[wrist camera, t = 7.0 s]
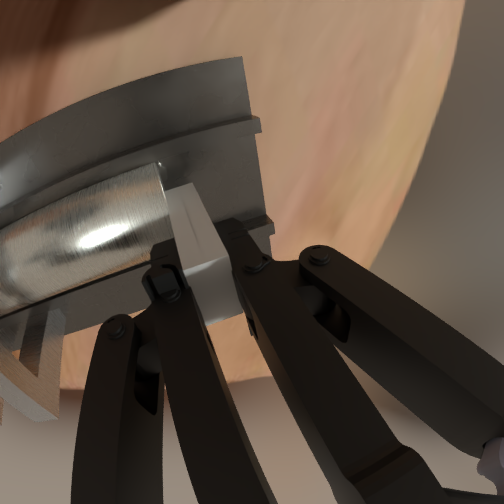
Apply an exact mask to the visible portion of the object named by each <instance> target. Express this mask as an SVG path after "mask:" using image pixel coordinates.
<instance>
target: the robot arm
mask: <svg viewBox="0 0 504 504" xmlns="http://www.w3.org/2000/svg"><path fill="white" fill-rule="evenodd" d="M164 193H165V197H166V201H167V206H168V210H169V214H170V215H169V216H170V220H171V225H172V229H173V233H174V238H171V239H168V240H165V241H162V242H160V243H157V244H154V245H153V247H152V249H151V251H150V260H151V268H149V269H148V270H147V271H146V272H145V274H144V275H143V277H142V281H141V283H142V285H143V287H144V289H145V291H146V292H147V294H148V296H149V298H150V300H151V304H150V306H149V307H148V308H147V309H146V310H144V311H143V312H142V313H140V314H139V315H137V316H136V317H134V318H131V317H130V316H128V315H127V314H117V315H114V316H112V317H110V318H109V319H107V320H106V321H105V322H104V323H103V324H102V325H101V327H100V329H99V331H98V335H97V339H96V342H95V346H94V350H93V354H92V358H91V362H90V367H89V371H88V375H87V380H86V385H85V390H84V395H83V400H82V405H81V411H80V417H79V423H78V429H77V436H76V444H75V452H74V461H73V472H72V486H71V504H163V476H162V474H163V472H162V471H163V470H162V448H163V447H162V446H163V445H162V444H163V443H162V442H163V408H164V388H165V386H166V390H167V395H168V398H169V399H168V400H169V403H170V408H171V412H172V416H173V421H174V424H175V428H176V432H177V436H178V439H179V443H180V447H181V450H182V454H183V457H184V461H185V464H186V467H187V471H188V473H189V477H190V480H191V483H192V486H193V489H194V492H195V495H196V498H197V501H198V503H199V504H278V503H277V501H276V499H275V496H274V494H273V493H272V490H271V488H270V486H269V484H268V482H267V479H266V477H265V475H264V473H263V471H262V468H261V466H260V464H259V462H258V459H257V457H256V455H255V452H254V450H253V448H252V445H251V443H250V441H249V438H248V436H247V433H246V431H245V429H244V426H243V424H242V421H241V419H240V416H239V414H238V411H237V409H236V406H235V404H234V401H233V398H232V396H231V393H230V391H229V388H228V385H227V383H226V380H225V377H224V374H223V372H222V369H221V366H220V363H219V361H218V358H217V355H216V352H215V349H214V346H213V344H212V341H211V338H210V335H209V333H208V331H207V328H206V326H208V325H210V324H213V323H216V322H219V321H222V320H225V319H227V318H230V317H233V316H236V315H238V314H241V313H243V310H244V312H245V315H246V319H247V323H248V327H249V330H250V334H251V336H252V335H253V336H254V338H255V340H256V342H257V344H258V346H259V348H260V350H261V352H262V354H263V357H264V359H265V361H266V363H267V365H268V367H269V369H270V371H271V373H272V375H273V377H274V379H275V381H276V383H277V385H278V387H279V389H280V391H281V393H282V395H283V397H284V399H285V401H286V403H287V405H288V407H289V409H290V411H291V412H292V414H293V417H294V419H295V420H296V422H297V424H298V426H299V428H300V430H301V432H302V434H303V436H304V438H305V439H306V441H307V443H308V445H309V447H310V449H311V451H312V453H313V454H314V456H315V459H316V460H317V462H318V464H319V466H320V468H321V469H322V471H323V473H324V475H325V477H326V479H327V481H328V482H329V484H330V486H331V489H332V491H333V495H334V497H335V499H336V501H337V503H338V504H504V365H502V364H501V363H500V362H498V361H497V360H496V359H495V358H493V357H492V356H491V355H489V354H488V353H487V352H485V351H484V350H483V349H481V348H480V347H479V346H477V345H476V344H474V343H473V342H472V341H471V340H469V339H468V338H466V337H465V336H464V335H462V334H461V333H459V332H458V331H457V330H455V329H454V328H452V327H451V326H450V325H448V324H447V323H445V322H444V321H442V320H441V319H440V318H438V317H437V316H435V315H434V314H433V313H431V312H430V311H428V310H427V309H425V308H424V307H422V306H421V305H420V304H418V303H417V302H415V301H414V300H412V299H410V298H409V297H408V296H406V295H405V294H403V293H402V292H400V291H399V290H397V289H396V288H394V287H393V286H391V285H390V284H388V283H387V282H385V281H384V280H382V279H380V278H379V277H377V276H376V275H374V274H373V273H371V272H370V271H368V270H367V269H365V268H364V267H362V266H360V265H359V264H357V263H356V262H354V261H353V260H351V259H349V258H348V257H346V256H345V255H343V254H341V253H340V252H338V251H337V250H335V249H333V248H331V247H329V246H325V245H314V246H310V247H307V248H305V249H304V250H303V251H302V252H301V253H300V255H299V260H292V261H275V260H274V259H273V258H272V257H270V256H269V255H267V254H264V253H262V252H261V250H260V249H259V247H258V246H257V244H256V243H255V241H254V240H253V238H252V237H251V235H249V233H248V231H247V230H246V229H245V227H244V225H243V224H242V222H241V221H239V220H237V219H235V218H233V217H232V218H229V219H226V220H223V221H220V222H216V223H212V221H211V219H210V217H209V215H208V213H207V211H206V209H205V207H204V205H203V203H202V201H201V199H200V197H199V195H198V193H197V191H196V189H195V187H194V185H193V183H189V184H186V185H182V186H179V187H176V188H173V189H170V190H167V191H164ZM242 308H243V310H242ZM334 345H335V346H336V347H337V348H338V349H339V350H340V351H341V352H343V353H344V354H345V355H346V356H347V357H348V358H350V359H351V360H352V361H353V362H354V363H355V364H357V365H358V366H359V367H360V368H361V369H362V370H363V371H365V372H366V373H367V374H368V375H369V376H371V377H372V378H373V379H374V380H375V381H376V382H377V383H379V384H380V385H381V386H382V387H383V388H384V389H386V390H387V391H388V392H389V393H390V394H392V395H393V396H394V397H395V398H396V399H397V400H399V401H400V402H401V403H402V404H404V405H405V406H406V407H407V408H408V409H409V410H410V411H412V412H413V413H414V414H415V415H416V416H417V417H419V418H420V419H421V420H422V421H424V422H425V423H426V424H427V425H428V426H429V427H431V428H432V429H433V430H434V431H436V432H437V433H438V434H439V435H440V436H441V437H443V438H444V439H445V440H446V441H448V442H449V443H450V444H452V445H453V446H454V447H456V448H457V449H459V450H460V451H462V452H464V453H467V454H468V455H470V456H473V457H476V458H479V459H480V461H479V462H478V464H477V472H478V473H479V474H480V475H484V476H485V477H486V478H487V479H489V480H491V481H492V482H493V483H494V484H495V486H496V489H497V495H490V494H480V493H474V492H467V491H460V490H454V489H449V488H442V487H441V485H440V484H439V482H438V481H437V479H436V478H435V476H434V474H433V473H432V472H431V470H430V469H429V467H428V466H427V464H426V462H425V461H424V460H423V458H422V457H421V456H420V455H419V454H418V453H417V452H416V451H415V450H413V449H412V448H410V447H408V446H405V445H402V443H400V442H399V441H398V440H397V438H396V437H395V436H394V434H393V432H392V431H391V429H390V428H389V427H388V425H387V423H386V422H385V420H384V419H383V418H382V416H381V414H380V413H379V411H378V410H377V408H376V407H375V406H374V404H373V403H372V401H371V400H370V398H369V397H368V395H367V394H366V392H365V391H364V389H363V388H362V386H361V385H360V383H359V382H358V380H357V379H356V377H355V376H354V375H353V373H352V372H351V370H350V369H349V367H348V366H347V364H346V363H345V362H344V360H343V358H342V357H341V355H340V354H339V353H338V351H337V350H336V348H335V347H334Z"/></svg>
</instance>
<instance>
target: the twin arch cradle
mask: <svg viewBox="0 0 504 504" xmlns="http://www.w3.org/2000/svg"><path fill="white" fill-rule="evenodd" d="M261 132H262V130H261V123H260V118H259V117H256V116H253V115H251V108H250V102H249V96H248V89H247V83H246V77H245V71H244V65H243V59H242V56H241V57H234V58H228V59H222V60H216V61H211V62H205V63H200V64H196V65H191V66H187V67H182V68H178V69H174V70H170V71H166V72H163V73H159V74H155V75H152V76H148V77H145V78H142V79H139V80H135V81H132V82H129V83H126V84H123V85H120V86H118V87H115V88H112V89H109V90H107V91H104V92H101V93H99V94H96V95H94V96H91V97H89V98H86V99H84V100H82V101H79V102H77V103H75V104H72V105H70V106H68V107H66V108H64V109H62V110H59V111H57V112H55V113H53V114H51V115H49V116H47V117H45V118H43V119H41V120H39V121H38V122H36V123H34V124H32V125H30V126H28V127H27V128H25V129H23V130H21V131H20V132H18V133H16V134H14V135H13V136H11V137H9V138H8V139H6V140H5V141H3V142H1V143H0V230H1V229H3V228H5V227H6V226H8V225H10V224H12V223H14V222H16V221H17V220H19V219H21V218H23V217H25V216H27V215H29V214H31V213H33V212H35V211H37V210H39V209H41V208H43V207H45V206H47V205H49V204H51V203H53V202H56V201H58V200H60V199H62V198H64V197H67V196H69V195H71V194H73V193H76V192H78V191H80V190H83V189H85V188H87V187H90V186H92V185H94V184H97V183H99V182H102V181H104V180H107V179H109V178H112V177H115V176H117V175H120V174H123V173H125V172H128V171H131V170H133V169H136V168H139V167H142V166H145V165H148V164H151V163H153V162H156V164H157V167H158V170H159V173H160V176H161V180H162V183H163V186H164V189H165V191H167V190H170V189H173V188H176V187H179V186H182V185H186V184H189V183H193V185H194V187H195V189H196V191H197V193H198V195H199V197H200V199H201V201H202V203H203V205H204V207H205V209H206V211H207V213H208V215H209V217H210V219H211V221H212V223H216V222H220V221H223V220H226V219H229V218H232V217H233V218H235V219H237V220H239V221H241V222H242V224H243V225H244V227H245V229H246V230H247V231H248V233H249V235H251V237H252V238H253V240H254V241H255V243H256V244H257V246H258V247H259V249H260V250H261V252H262V253H264V254H267V255H269V256H270V257H272V253H271V246H270V238H269V236H270V235H273V234H275V228H274V222H273V221H272V220H271V219H270V218H269V217H268V216H267V214H266V209H265V202H264V195H263V188H262V181H261V174H260V167H259V160H258V154H257V147H256V140H255V134H257V133H261ZM149 268H151V260H148V261H145V262H143V263H140V264H137V265H134V266H131V267H129V268H126V269H123V270H120V271H117V272H115V273H112V274H109V275H106V276H104V277H101V278H98V279H96V280H93V281H90V282H87V283H85V284H82V285H79V286H77V287H74V288H71V289H69V290H66V291H64V292H61V293H58V294H56V295H53V296H50V297H48V298H45V299H43V300H40V301H38V302H35V303H32V304H30V305H27V306H25V307H22V308H20V309H17V310H15V311H12V312H10V313H7V314H5V315H2V316H0V425H2V412H3V402H4V400H5V401H7V402H8V403H9V404H10V405H12V406H13V407H14V408H16V409H17V410H19V411H20V412H21V413H23V414H24V415H25V416H27V417H28V418H30V419H31V420H33V421H34V422H41V421H48V420H55V419H59V386H60V369H61V357H62V347H63V338H64V335H67V334H70V333H73V332H76V331H79V330H82V329H85V328H89V327H92V326H95V325H98V324H101V323H104V322H105V321H106V320H107V319H109V318H110V317H112V316H114V315H117V314H127V315H128V314H131V313H134V312H137V311H140V310H143V309H146V308H148V307H149V306H150V304H151V300H150V298H149V296H148V294H147V292H146V291H145V289H144V287H143V285H142V283H141V281H142V277H143V275H144V274H145V272H146V271H147V270H148V269H149ZM19 349H21V351H20V356H19V360H18V359H17V358H16V357H15V356H14V355H13V354H12V351H15V350H19Z"/></svg>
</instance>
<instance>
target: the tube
mask: <svg viewBox="0 0 504 504" xmlns="http://www.w3.org/2000/svg"><path fill="white" fill-rule="evenodd" d="M164 191H165V189H164V186H163V183H162V180H161V176H160V173H159V170H158V167H157V164H156V162H153V163H151V164H148V165H145V166H142V167H139V168H136V169H133V170H131V171H128V172H125V173H123V174H120V175H117V176H115V177H112V178H109V179H107V180H104V181H102V182H99V183H97V184H94V185H92V186H90V187H87V188H85V189H83V190H80V191H78V192H76V193H73V194H71V195H69V196H67V197H64V198H62V199H60V200H58V201H56V202H53V203H51V204H49V205H47V206H45V207H43V208H41V209H39V210H37V211H35V212H33V213H31V214H29V215H27V216H25V217H23V218H21V219H19V220H17V221H16V222H14V223H12V224H10V225H8V226H6V227H5V228H3V229H1V230H0V316H2V315H5V314H7V313H10V312H12V311H15V310H17V309H20V308H22V307H25V306H27V305H30V304H32V303H35V302H38V301H40V300H43V299H45V298H48V297H50V296H53V295H56V294H58V293H61V292H64V291H66V290H69V289H71V288H74V287H77V286H79V285H82V284H85V283H87V282H90V281H93V280H96V279H98V278H101V277H104V276H106V275H109V274H112V273H115V272H117V271H120V270H123V269H126V268H129V267H131V266H134V265H137V264H140V263H143V262H145V261H148V260H150V251H151V249H152V247H153V245H154V244H157V243H160V242H162V241H165V240H168V239H171V238H174V233H173V229H172V225H171V220H170V216H169V215H170V214H169V210H168V206H167V201H166V197H165V193H164Z"/></svg>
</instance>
